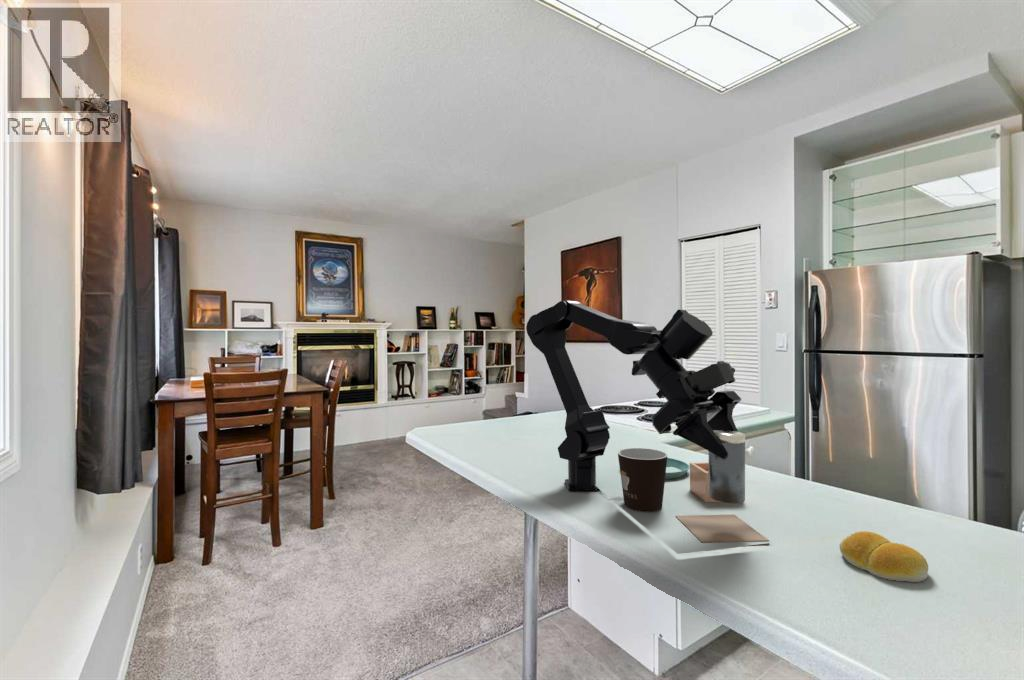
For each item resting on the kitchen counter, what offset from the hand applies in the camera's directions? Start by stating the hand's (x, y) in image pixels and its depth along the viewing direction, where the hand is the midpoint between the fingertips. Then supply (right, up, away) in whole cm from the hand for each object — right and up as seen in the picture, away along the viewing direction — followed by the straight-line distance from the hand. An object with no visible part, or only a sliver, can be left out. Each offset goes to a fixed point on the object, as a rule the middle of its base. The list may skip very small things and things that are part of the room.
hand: (734, 453), depth 71 cm
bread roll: (+15, -13, -10) cm, 22 cm away
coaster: (-2, -13, +1) cm, 13 cm away
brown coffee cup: (-10, -13, +13) cm, 21 cm away
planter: (+4, -13, +17) cm, 21 cm away
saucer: (-2, -13, +33) cm, 36 cm away
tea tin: (-1, -7, +1) cm, 7 cm away
